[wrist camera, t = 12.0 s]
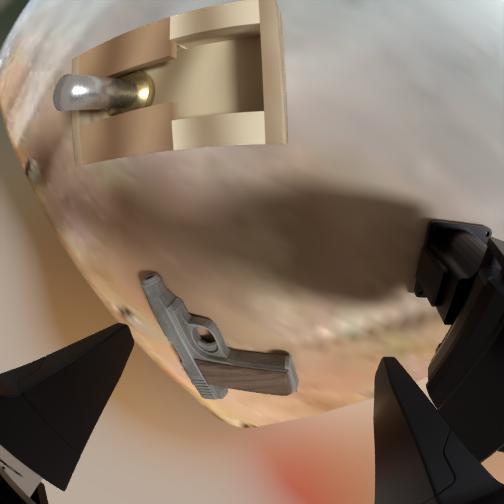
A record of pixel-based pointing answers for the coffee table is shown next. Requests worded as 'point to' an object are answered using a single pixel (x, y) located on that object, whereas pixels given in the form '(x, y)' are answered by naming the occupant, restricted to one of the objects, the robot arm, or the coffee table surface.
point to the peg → (104, 92)
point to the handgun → (216, 351)
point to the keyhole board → (191, 83)
